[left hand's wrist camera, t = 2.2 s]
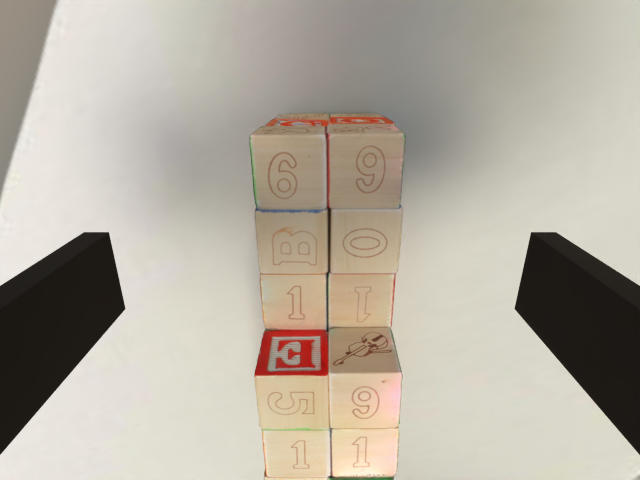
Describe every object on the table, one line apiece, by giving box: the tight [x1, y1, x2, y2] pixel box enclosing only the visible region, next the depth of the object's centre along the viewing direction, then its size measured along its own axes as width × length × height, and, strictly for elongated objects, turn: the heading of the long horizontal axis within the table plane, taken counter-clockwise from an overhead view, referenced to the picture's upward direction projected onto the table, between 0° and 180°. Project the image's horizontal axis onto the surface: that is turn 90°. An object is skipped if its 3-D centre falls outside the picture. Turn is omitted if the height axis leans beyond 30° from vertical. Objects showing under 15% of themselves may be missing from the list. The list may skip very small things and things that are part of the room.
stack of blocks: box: [250, 113, 406, 480], centre depth 22 cm, size 21×6×12 cm, turn 0°
